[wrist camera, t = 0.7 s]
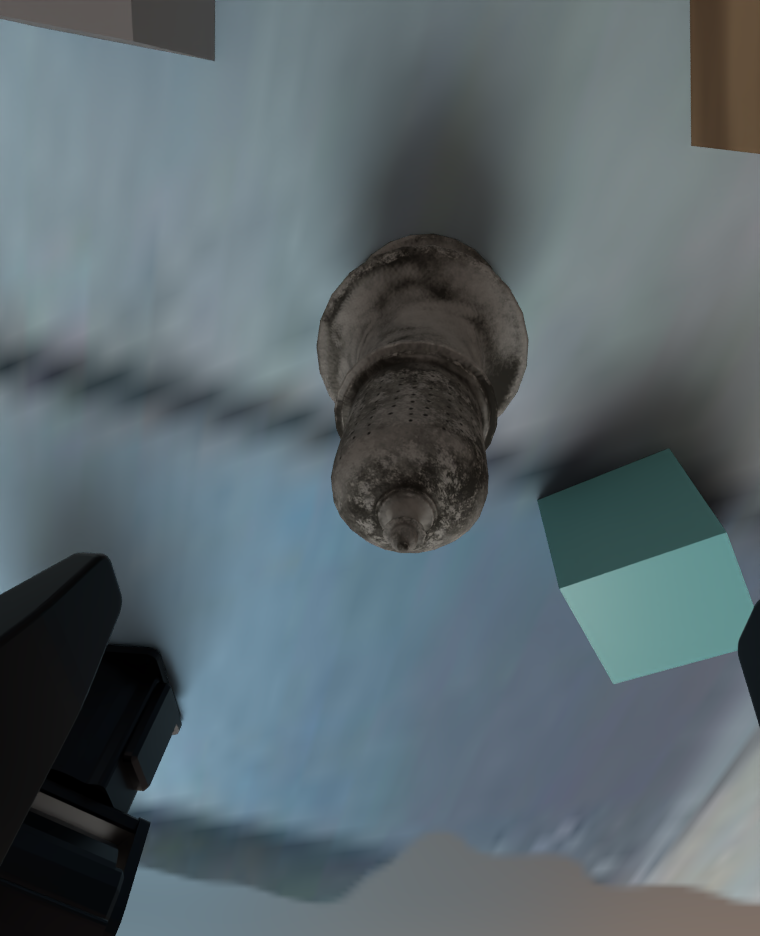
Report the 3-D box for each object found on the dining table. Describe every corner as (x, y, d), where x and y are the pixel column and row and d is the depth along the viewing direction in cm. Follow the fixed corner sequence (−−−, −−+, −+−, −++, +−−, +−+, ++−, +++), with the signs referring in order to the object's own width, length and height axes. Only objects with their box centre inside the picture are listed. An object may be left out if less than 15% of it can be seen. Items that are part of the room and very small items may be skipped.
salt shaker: (317, 243, 18) (156, 405, 8) (506, 205, 17) (601, 337, 7) (357, 410, 21) (276, 686, 11) (520, 387, 20) (602, 668, 10)
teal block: (583, 585, 25) (613, 684, 20) (537, 499, 22) (559, 588, 18) (706, 544, 23) (767, 642, 19) (668, 447, 21) (726, 532, 17)
